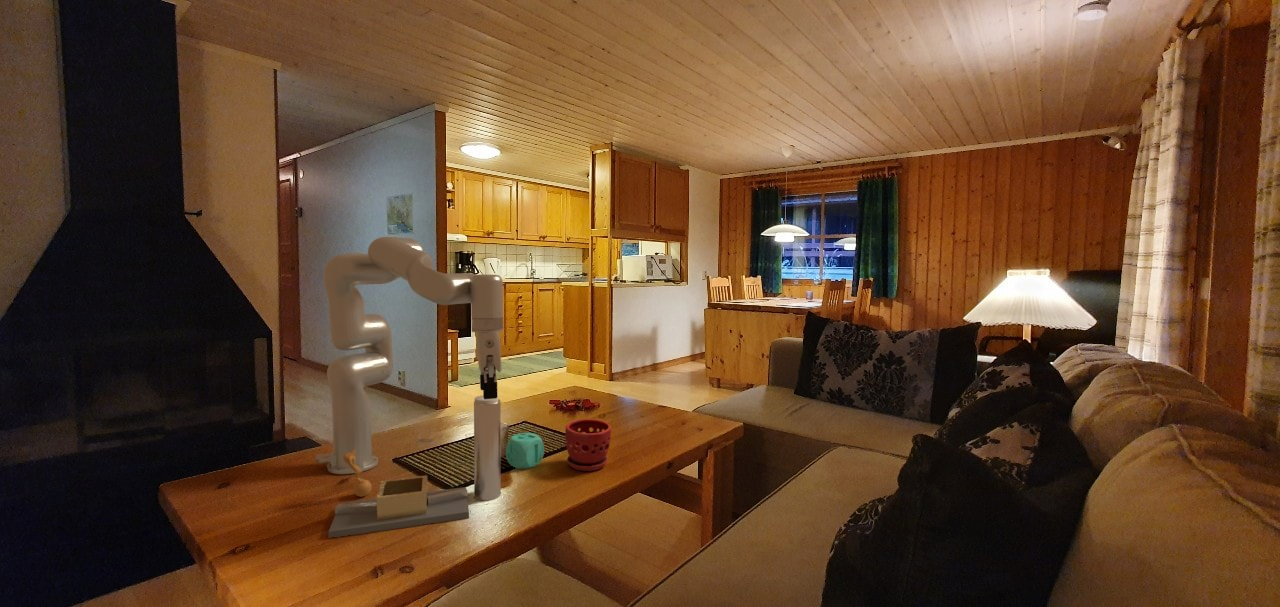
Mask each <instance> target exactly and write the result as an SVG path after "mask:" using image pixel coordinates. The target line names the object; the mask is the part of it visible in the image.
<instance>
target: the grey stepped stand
mask: <svg viewBox="0 0 1280 607" xmlns="http://www.w3.org/2000/svg"><path fill="white" fill-rule="evenodd" d="M377 492H378V493H377V497H376V498H377V502H375V503H354V504H340V503H338V504H336V506H334V515H335V514H354V513H374V512H377V521H379V520H386V519H393V518H400V517H407V516H415V515H422V514H427V504H428V505H433V504H437V503H442V502H447V501H451V500H456V499H460V498H465V497H467V498H468V490H467V487H466V488H464V489H459V490H454V491H449V492H445V493H440V494H435V495H430V496H427V492H428V475H420V476H419V475H418V476H412V477H411V476H410V477H402V478H394V479H385V480H381V481H380V485H379V489H378V491H377Z"/></svg>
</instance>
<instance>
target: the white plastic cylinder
mask: <svg viewBox="0 0 1280 607" xmlns="http://www.w3.org/2000/svg"><path fill="white" fill-rule="evenodd" d="M501 402H502V401H501V399H499V397H498V396H497V398H495V399H484V398H483V395H478V396H475V397H474V401H473V448H474V449H473V451H474V452H473V455H474V456H473V462H474V463H473V471H474V473H473V475H474V477H473V478H474V481H473V482H474V484H473V485H474V486H473V488H474V489H473V490H474V492H473V493H474V494H473V497H474V499H475V500H478V501H483V502H485V501H487V502H488V501H493V500H495V499H498V498H499V497H500V496H501V494H502V491H501V489H502V488H501V484H502V482H501V481H502V480H501V479H502V478H501V466H502V465H501V462H502V461H501V460H502V459H501V458H502V457H501V456H502V454H501V453H502V452H501V444H502V443H501V441H502V440H501V437H502V436H501V433H502V432H501V429H502V428H501V425H502V424H501V422H502V421H501V417H502V416H501V414H502V413H501V412H502V411H501V410H502V409H501V404H502V403H501Z"/></svg>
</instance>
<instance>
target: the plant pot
mask: <svg viewBox="0 0 1280 607" xmlns="http://www.w3.org/2000/svg"><path fill="white" fill-rule="evenodd" d="M591 428H592V431H591V430H590V429H591ZM579 429H580V430H579ZM564 436H565V447H566V451H567V454H568V456H567V458H566V462H567V464H568V465H569V466H570V468H572V469H575V470H579V471H584V472H590V471H597V470H600V469H602V468H603V467H605V466H606V465H607V463H608V457H607V454H608V452H609V449H610V446H611V438H612V426H611V424H609V423H608V422H606V421H603V420H599V419H594V418H593V419H592V418H584V419H583V418H582V419H577V420H572V421H570V422H569V423H567V424H566V426H565V435H564Z"/></svg>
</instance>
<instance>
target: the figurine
mask: <svg viewBox="0 0 1280 607" xmlns="http://www.w3.org/2000/svg"><path fill="white" fill-rule="evenodd" d="M355 454H356V452H355V450H352V451H351V452H349V453H347V454H345V455H344V456H343V459H344V461H345V462H346V463H347V464H348V465H349V467H351V468H352V469H353V471H354V472H356V473H354V476H355V480H357V482H356V483H355V484H354V487H353V493H354V495H356V496H357V497H360V498H362V497H366V496H367V495H369V494H370V492H372V486H373V485H372V483H371V482H370V480H368V479H363V478H362V477H361V478H360V476H361V475H362V473H363V471H361V468H359V467H358V466H357V465H355Z"/></svg>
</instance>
